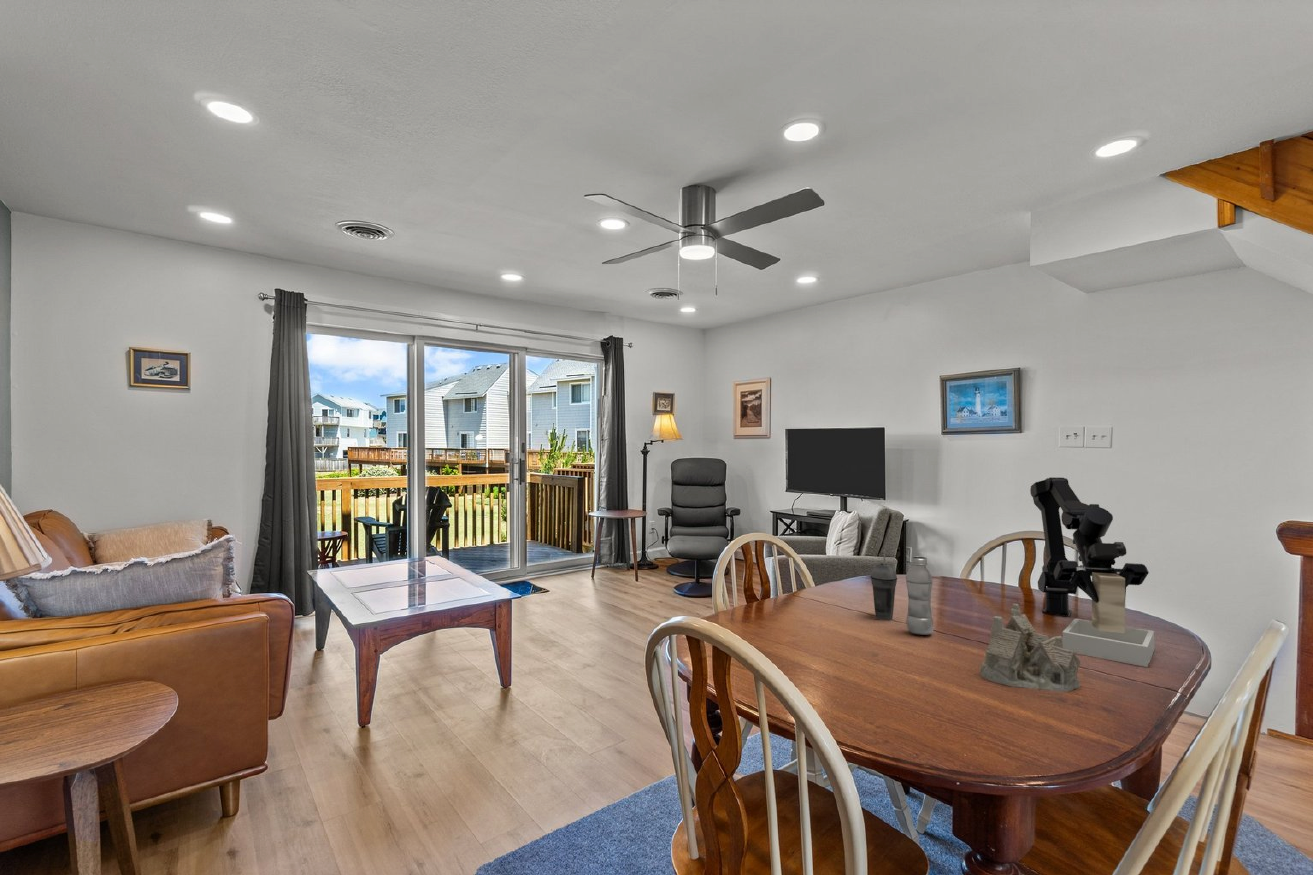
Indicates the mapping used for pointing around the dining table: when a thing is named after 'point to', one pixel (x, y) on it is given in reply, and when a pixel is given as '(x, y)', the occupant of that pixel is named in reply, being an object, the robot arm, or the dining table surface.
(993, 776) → the dining table surface
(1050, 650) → the ceramic cottage
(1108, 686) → the dining table surface
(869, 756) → the dining table surface
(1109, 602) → the birch block
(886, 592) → the beverage cup
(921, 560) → the plastic bottle
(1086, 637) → the box
